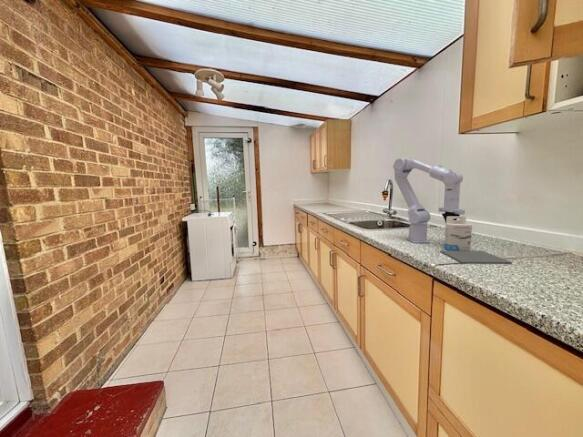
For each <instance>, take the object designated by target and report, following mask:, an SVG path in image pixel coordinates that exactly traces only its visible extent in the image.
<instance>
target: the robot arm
mask: <svg viewBox="0 0 583 437" xmlns="http://www.w3.org/2000/svg"><path fill="white" fill-rule="evenodd" d="M393 162H394V163H393V166H392V168H393V171H394V181H395V182H396V184H397V186H398V188H399V190H400V193H401V195H402V196H403V198H404V200H405V203H406V204H407V205H406V206H407V207H408V210H407V214H408V219H409V222H410V225H409V227H408V237H407V238H406V240H408V241H410V242H411V243H415V244H416V243H417V244H423V243H424V244H425V243H427V244H428V243H429V244H430V243H431V242H430V241H429V240H427V238H428V222H429V221H430V219H431V214H430V212H429V211H428V210H426V208H425V207H424V206H423V205H422V204H420V201H419V200H418V197H417V195H416V194H415V192H414V189H413V188H412V186H411V184H410V182H409V179H408V176H409V174H410V173H411V172H412V171H413V170H415V169H417V170H420V171H422V172H425V173H428V174H429V177H430V178H433V179H435V180H437V181H440V182H443V184H444V196H443V197H444V199H443V200H444V201H443V207H438V212H441V216H442V217H443V219H444V223H445V224H446V219H447V216H464V215H465V216H466V214H465V212H466V211H465V210H466V209H461V208H460V207H459V206H460V194H461V192H460V190H461V183H462V182H463V180H464V176H463V175H462V174H461V173H460V172H459V171H453V169H450V168H449V169H447V168H445V167H444V166H443V165H440V164H439V165H434V166H431V165H429V164H427V163H425V162H423V161H420V160H418V159H413V158H412V157H410V158H406V157H405V158H404V157H397V159H395V160H394V161H393ZM453 220H458V219H457V218H456V219H453Z"/></svg>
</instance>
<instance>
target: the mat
mask: <svg viewBox="0 0 583 437" xmlns="http://www.w3.org/2000/svg"><path fill="white" fill-rule="evenodd" d="M439 253H441V254H443V255H445V256H446V257H449V258H450V259H453V260H454V261H456V262H459V263H460V264H466V265H468V264H469V265H470V264H471V265H472V264H475V265H476V264H478V265H480V264H482V265H483V264H484V265H485V264H486V265H487V264H490V265H491V264H493V265H495V264H497V265H500V264H502V265H505V264H507V265H512V264H513V262H512V261H511V260H508V259H506V258H502V257H500V256H496V255H494V254H492V253H489V252H486V251H484V250H470V251H448V250H439Z"/></svg>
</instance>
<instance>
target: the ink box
mask: <svg viewBox="0 0 583 437" xmlns="http://www.w3.org/2000/svg"><path fill="white" fill-rule="evenodd" d="M456 218H457V220H453V219H456ZM458 219H459V220H458ZM466 222H467V216H466V215H465V216H464V215H460V216H447V219H446V223H445V228H444V245H443V246H444V247H443V249H444V250H445V251H471V247H472V246H471V243H472V231H473V224H471V223H466Z"/></svg>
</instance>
